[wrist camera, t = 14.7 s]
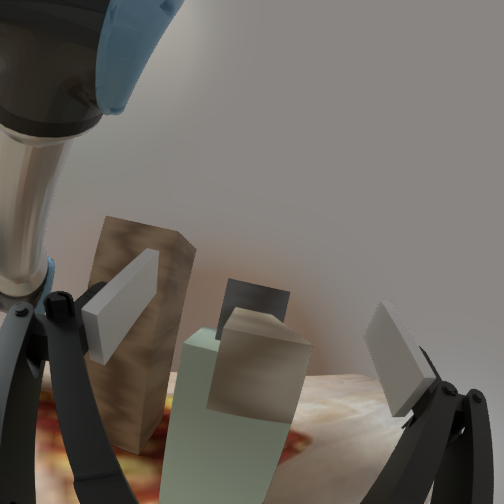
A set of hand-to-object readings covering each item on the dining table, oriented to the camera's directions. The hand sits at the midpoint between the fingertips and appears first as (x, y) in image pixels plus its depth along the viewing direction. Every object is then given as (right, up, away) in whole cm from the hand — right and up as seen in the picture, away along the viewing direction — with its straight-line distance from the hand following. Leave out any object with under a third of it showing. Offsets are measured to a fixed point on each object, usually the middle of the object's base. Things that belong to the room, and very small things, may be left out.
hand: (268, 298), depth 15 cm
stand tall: (-21, -24, +18) cm, 36 cm away
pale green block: (-6, -26, +8) cm, 28 cm away
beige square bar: (-1, -6, +5) cm, 8 cm away
